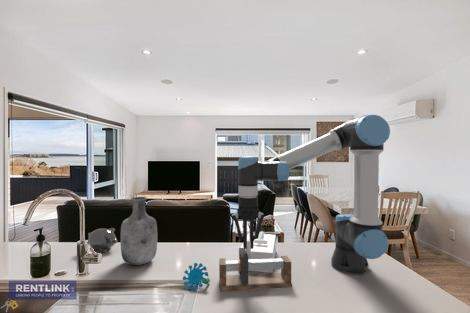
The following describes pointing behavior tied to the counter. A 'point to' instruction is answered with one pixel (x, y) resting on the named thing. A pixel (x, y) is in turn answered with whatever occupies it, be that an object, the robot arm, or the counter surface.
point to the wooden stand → (255, 278)
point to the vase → (138, 235)
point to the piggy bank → (102, 239)
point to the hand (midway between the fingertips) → (248, 256)
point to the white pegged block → (263, 248)
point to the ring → (243, 265)
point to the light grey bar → (256, 264)
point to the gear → (196, 276)
